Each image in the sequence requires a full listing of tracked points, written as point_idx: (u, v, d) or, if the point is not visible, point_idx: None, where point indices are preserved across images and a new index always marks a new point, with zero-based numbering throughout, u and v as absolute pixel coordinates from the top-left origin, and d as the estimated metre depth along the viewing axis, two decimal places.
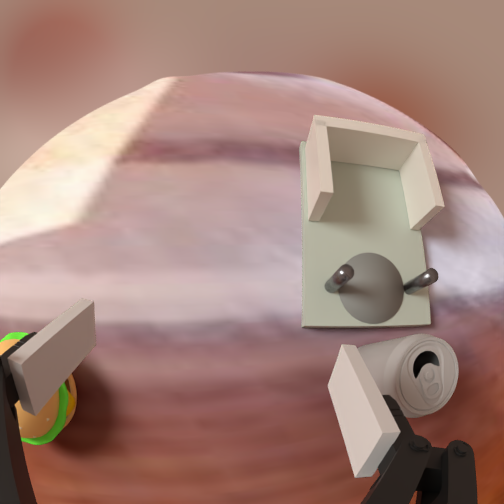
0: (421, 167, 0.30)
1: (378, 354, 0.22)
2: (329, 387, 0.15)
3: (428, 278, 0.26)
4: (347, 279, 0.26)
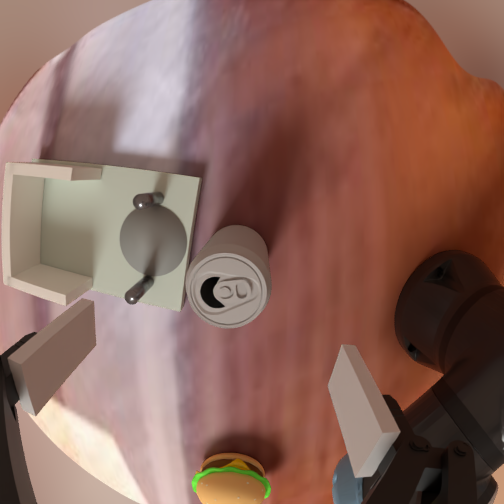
0: None
1: None
2: (329, 387, 0.15)
3: (142, 208, 0.26)
4: (137, 297, 0.28)
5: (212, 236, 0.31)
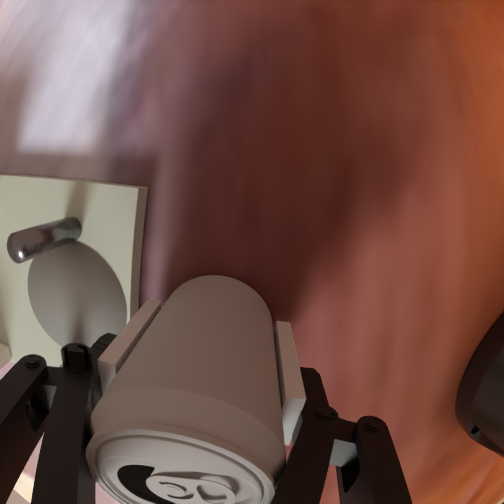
0: None
1: None
2: None
3: (21, 260, 0.11)
4: None
5: (166, 301, 0.16)
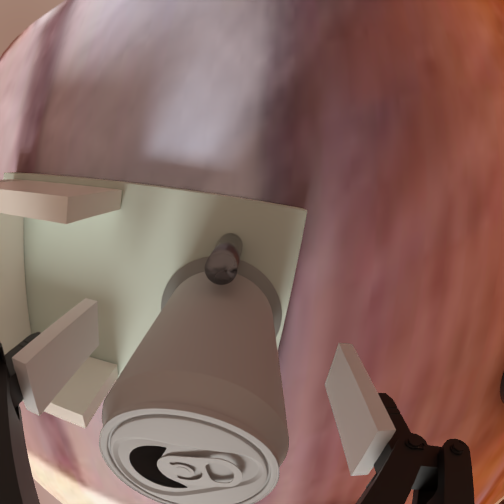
0: None
1: None
2: (326, 386, 0.15)
3: (225, 281, 0.13)
4: None
5: (172, 295, 0.16)
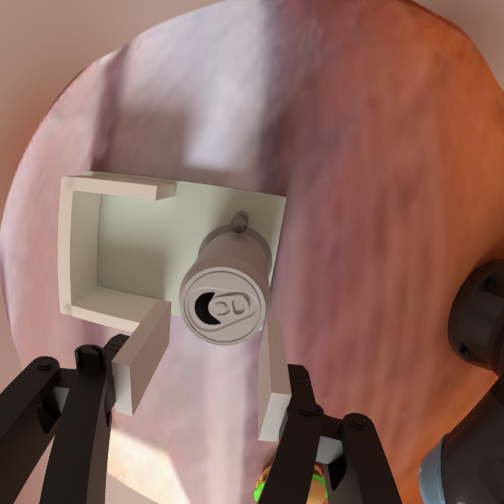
0: None
1: None
2: (258, 360, 0.17)
3: (240, 231, 0.26)
4: None
5: (208, 244, 0.29)
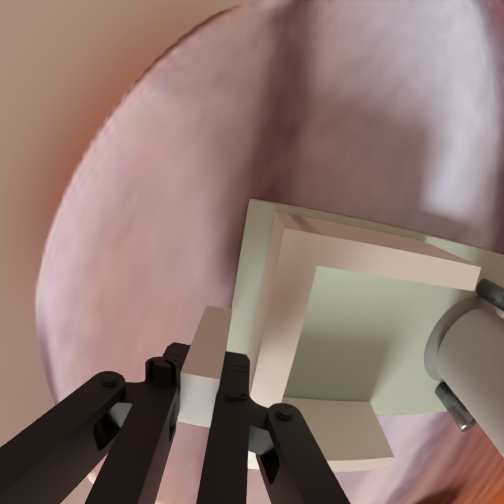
0: None
1: (487, 435, 0.12)
2: None
3: None
4: (474, 422, 0.16)
5: (465, 332, 0.17)
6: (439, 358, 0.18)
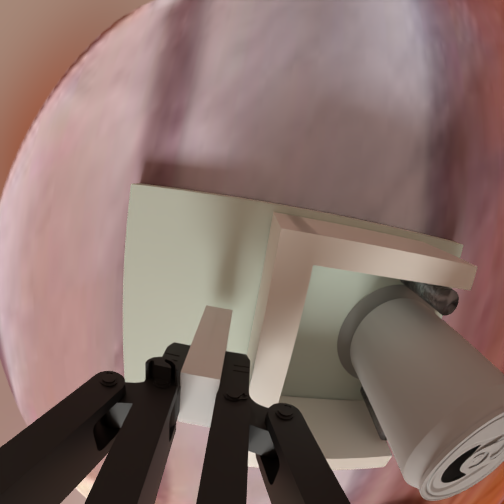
0: None
1: None
2: None
3: (449, 312, 0.14)
4: None
5: (376, 324, 0.17)
6: (351, 353, 0.18)
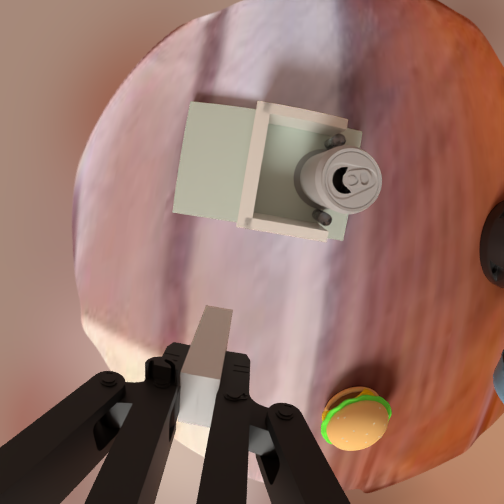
0: (297, 120, 0.31)
1: (318, 200, 0.30)
2: None
3: (341, 144, 0.32)
4: (331, 219, 0.34)
5: (309, 159, 0.35)
6: (300, 181, 0.36)
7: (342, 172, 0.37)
